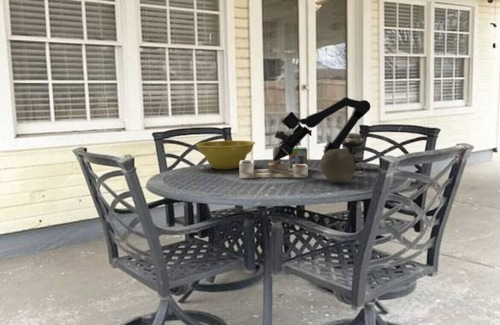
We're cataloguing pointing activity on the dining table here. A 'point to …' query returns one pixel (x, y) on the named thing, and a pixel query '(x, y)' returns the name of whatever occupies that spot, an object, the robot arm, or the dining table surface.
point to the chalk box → (298, 156)
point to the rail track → (270, 171)
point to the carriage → (276, 164)
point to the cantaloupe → (338, 165)
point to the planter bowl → (225, 153)
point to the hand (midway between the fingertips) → (273, 159)
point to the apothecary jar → (354, 147)
